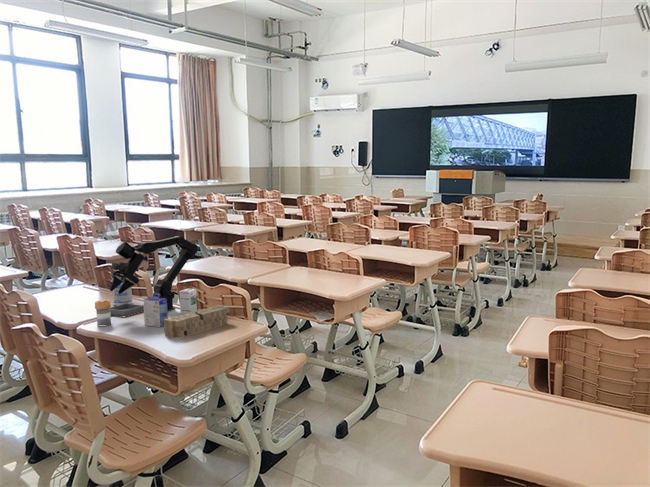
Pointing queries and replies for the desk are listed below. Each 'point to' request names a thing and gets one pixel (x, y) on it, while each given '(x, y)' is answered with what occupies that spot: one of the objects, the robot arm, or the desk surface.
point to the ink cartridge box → (155, 311)
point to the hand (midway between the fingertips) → (114, 292)
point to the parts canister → (103, 316)
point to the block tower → (196, 321)
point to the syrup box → (188, 301)
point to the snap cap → (102, 304)
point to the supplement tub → (122, 296)
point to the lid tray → (126, 309)
